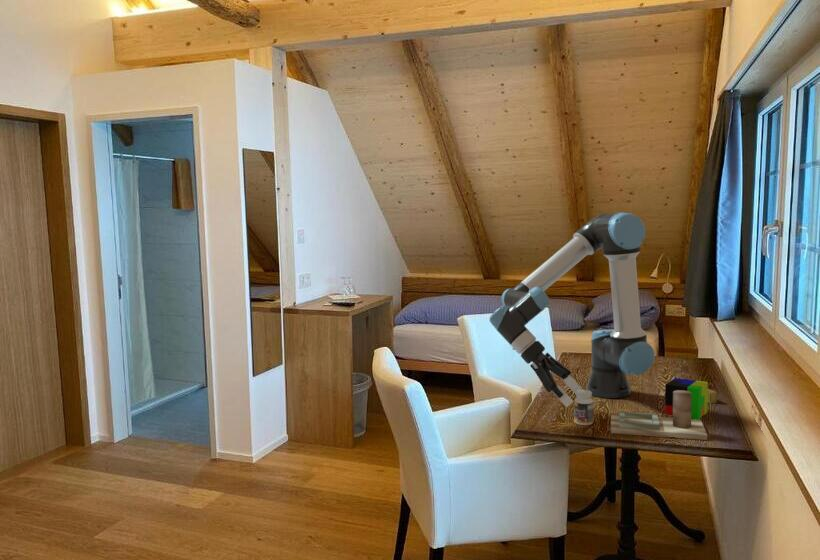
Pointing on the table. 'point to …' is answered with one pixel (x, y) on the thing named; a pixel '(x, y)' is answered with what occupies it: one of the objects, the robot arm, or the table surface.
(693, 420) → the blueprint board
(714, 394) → the medication box
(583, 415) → the pill bottle
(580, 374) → the table surface
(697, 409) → the puzzle toy
